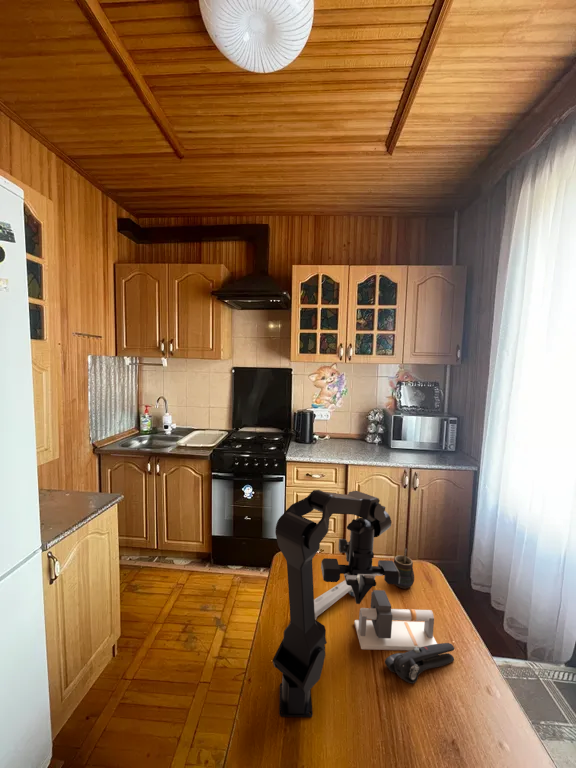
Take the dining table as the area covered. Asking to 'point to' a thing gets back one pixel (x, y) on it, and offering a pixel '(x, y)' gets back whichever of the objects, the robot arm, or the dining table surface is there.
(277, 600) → the dining table surface
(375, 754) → the dining table surface
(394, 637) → the pipe stand
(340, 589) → the light grey long piece
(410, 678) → the can opener
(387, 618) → the stepped block
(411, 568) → the mate gourd
